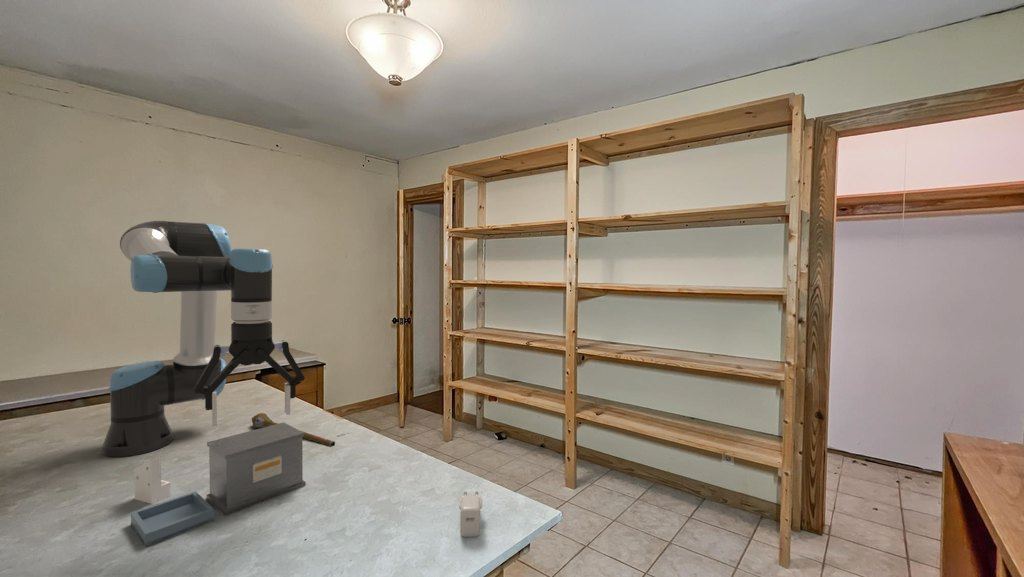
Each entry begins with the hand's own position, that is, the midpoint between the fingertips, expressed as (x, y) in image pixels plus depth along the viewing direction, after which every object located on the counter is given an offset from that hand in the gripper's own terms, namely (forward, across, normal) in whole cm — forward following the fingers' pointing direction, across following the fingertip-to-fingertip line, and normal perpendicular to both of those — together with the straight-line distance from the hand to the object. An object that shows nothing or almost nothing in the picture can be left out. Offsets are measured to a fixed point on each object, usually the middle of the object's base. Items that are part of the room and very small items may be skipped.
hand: (252, 418), depth 95 cm
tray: (+19, -14, +1) cm, 24 cm away
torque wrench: (+20, +13, +39) cm, 46 cm away
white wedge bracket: (+20, -18, +16) cm, 31 cm away
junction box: (+19, +1, +6) cm, 20 cm away
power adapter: (+19, +37, -32) cm, 52 cm away
